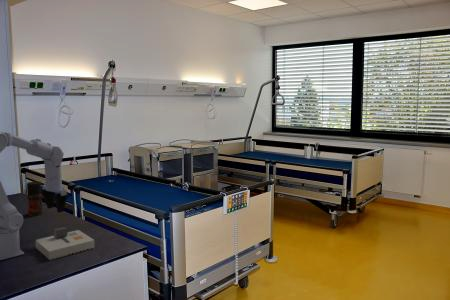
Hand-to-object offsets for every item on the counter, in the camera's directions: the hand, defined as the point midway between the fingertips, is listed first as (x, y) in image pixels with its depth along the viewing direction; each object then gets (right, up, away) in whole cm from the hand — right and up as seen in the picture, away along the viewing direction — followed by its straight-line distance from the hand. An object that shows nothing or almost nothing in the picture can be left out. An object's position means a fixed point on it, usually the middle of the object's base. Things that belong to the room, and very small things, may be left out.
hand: (55, 209), depth 149 cm
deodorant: (-22, -7, +28) cm, 36 cm away
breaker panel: (+8, -12, -11) cm, 18 cm away
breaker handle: (+6, -9, -8) cm, 13 cm away
